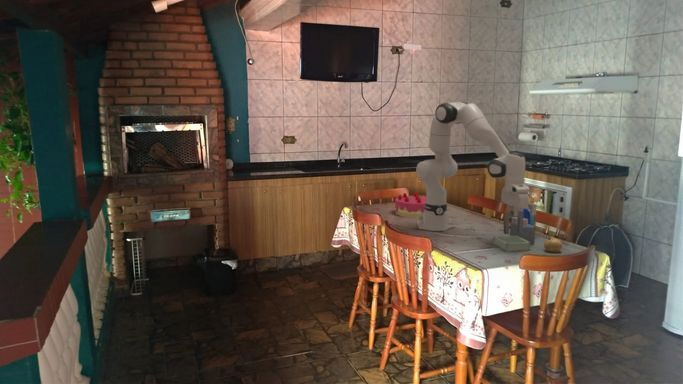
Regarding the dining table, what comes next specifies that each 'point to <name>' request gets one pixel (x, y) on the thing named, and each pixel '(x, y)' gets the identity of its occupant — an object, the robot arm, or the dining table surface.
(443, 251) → the dining table surface
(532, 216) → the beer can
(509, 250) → the bin
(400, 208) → the cake
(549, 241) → the onion
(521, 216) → the loose hook
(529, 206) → the clamped hook
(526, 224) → the vise
